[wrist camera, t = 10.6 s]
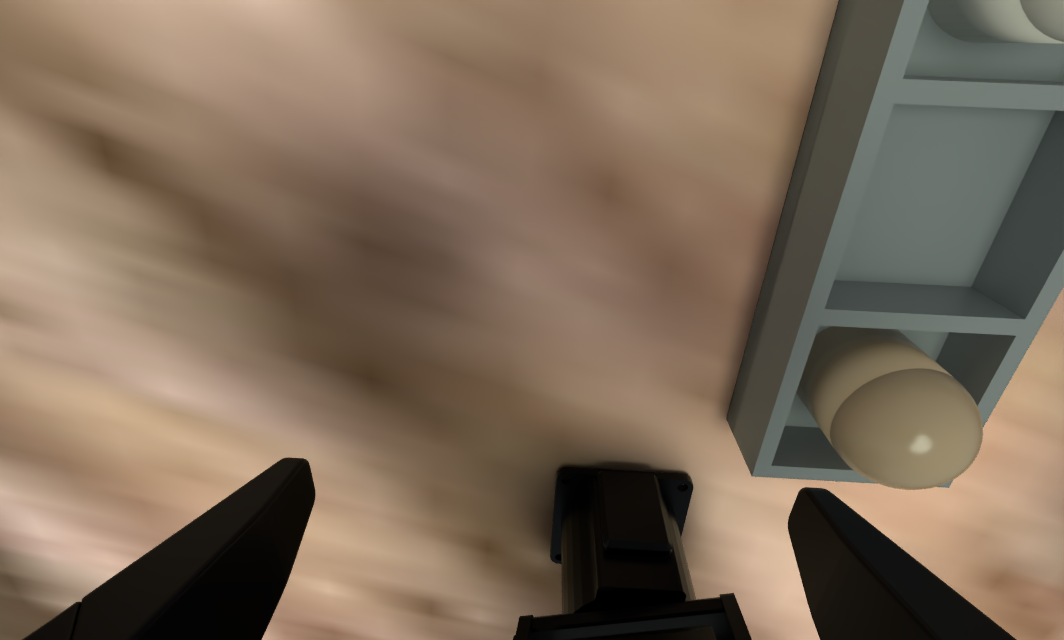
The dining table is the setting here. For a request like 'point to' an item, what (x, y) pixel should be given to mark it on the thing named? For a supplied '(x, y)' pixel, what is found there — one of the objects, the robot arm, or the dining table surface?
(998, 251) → the grey long rectangular tray
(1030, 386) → the dining table surface
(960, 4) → the cream egg
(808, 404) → the brown egg
